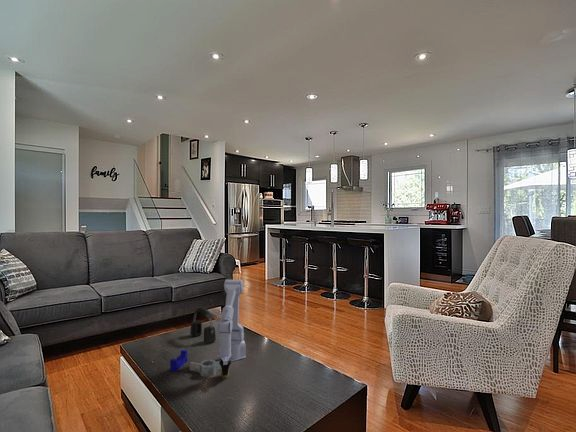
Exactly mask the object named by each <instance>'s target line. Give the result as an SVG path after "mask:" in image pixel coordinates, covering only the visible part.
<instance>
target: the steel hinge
mask: <svg viewBox="0 0 576 432" xmlns="http://www.w3.org/2000/svg"><path fill="white" fill-rule="evenodd" d="M219 361H221V360H220V359H219V360H218V361H216V360H215V359H205V360H203V361H201V362H192V361H190V362H189V371H191V372H196V373H199V375H200V377H202V378H210V377H213V376H215V375H216V373H217V371H218V370H221V366H220V364H219Z"/></svg>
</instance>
